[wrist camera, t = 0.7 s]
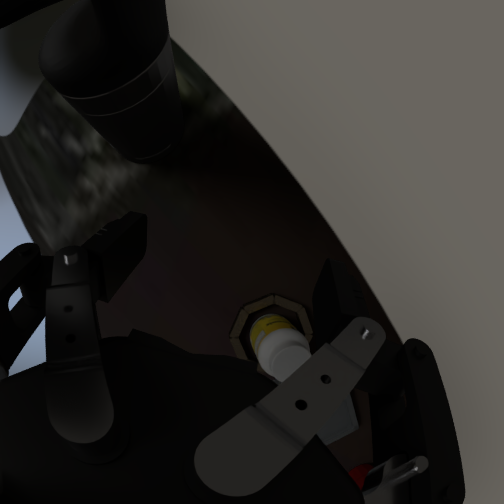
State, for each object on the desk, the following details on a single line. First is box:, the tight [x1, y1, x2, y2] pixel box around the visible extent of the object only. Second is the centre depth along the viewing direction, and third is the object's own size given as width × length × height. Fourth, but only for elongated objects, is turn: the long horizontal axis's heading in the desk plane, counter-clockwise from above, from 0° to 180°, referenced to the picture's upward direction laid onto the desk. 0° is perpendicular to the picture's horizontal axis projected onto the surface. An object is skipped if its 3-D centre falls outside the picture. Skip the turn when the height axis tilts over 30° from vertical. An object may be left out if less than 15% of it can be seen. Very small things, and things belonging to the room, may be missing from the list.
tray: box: [273, 379, 359, 445], centre depth 34 cm, size 15×14×2 cm
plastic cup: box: [348, 464, 374, 490], centre depth 32 cm, size 11×11×12 cm
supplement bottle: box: [250, 314, 312, 382], centre depth 29 cm, size 5×5×10 cm
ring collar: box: [229, 293, 313, 374], centre depth 33 cm, size 10×10×1 cm
